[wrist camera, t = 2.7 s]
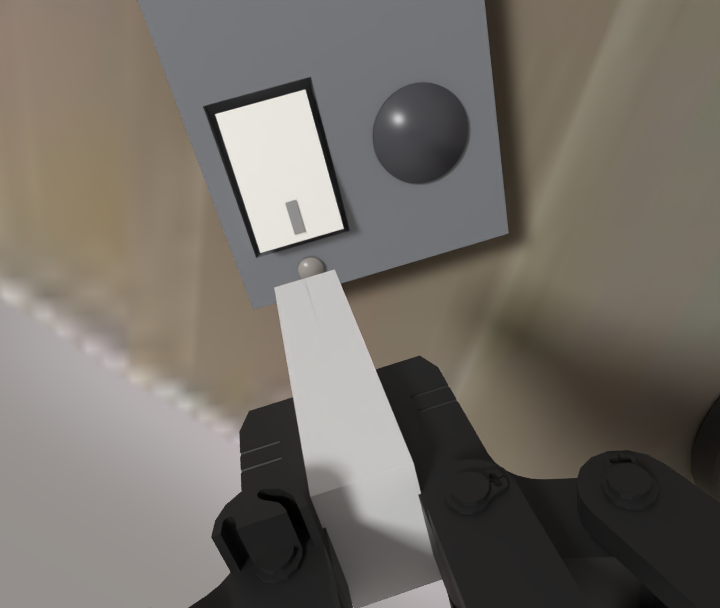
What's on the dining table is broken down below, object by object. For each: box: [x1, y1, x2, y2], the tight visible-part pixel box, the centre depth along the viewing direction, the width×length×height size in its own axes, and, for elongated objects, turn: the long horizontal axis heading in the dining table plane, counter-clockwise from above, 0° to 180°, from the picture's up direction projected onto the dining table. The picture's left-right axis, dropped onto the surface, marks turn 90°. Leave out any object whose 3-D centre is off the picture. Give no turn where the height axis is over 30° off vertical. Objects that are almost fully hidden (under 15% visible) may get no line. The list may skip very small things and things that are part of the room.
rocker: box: [215, 90, 344, 253], centre depth 21 cm, size 5×3×1 cm, turn 13°
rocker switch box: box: [138, 0, 509, 310], centre depth 20 cm, size 20×11×3 cm, turn 13°
